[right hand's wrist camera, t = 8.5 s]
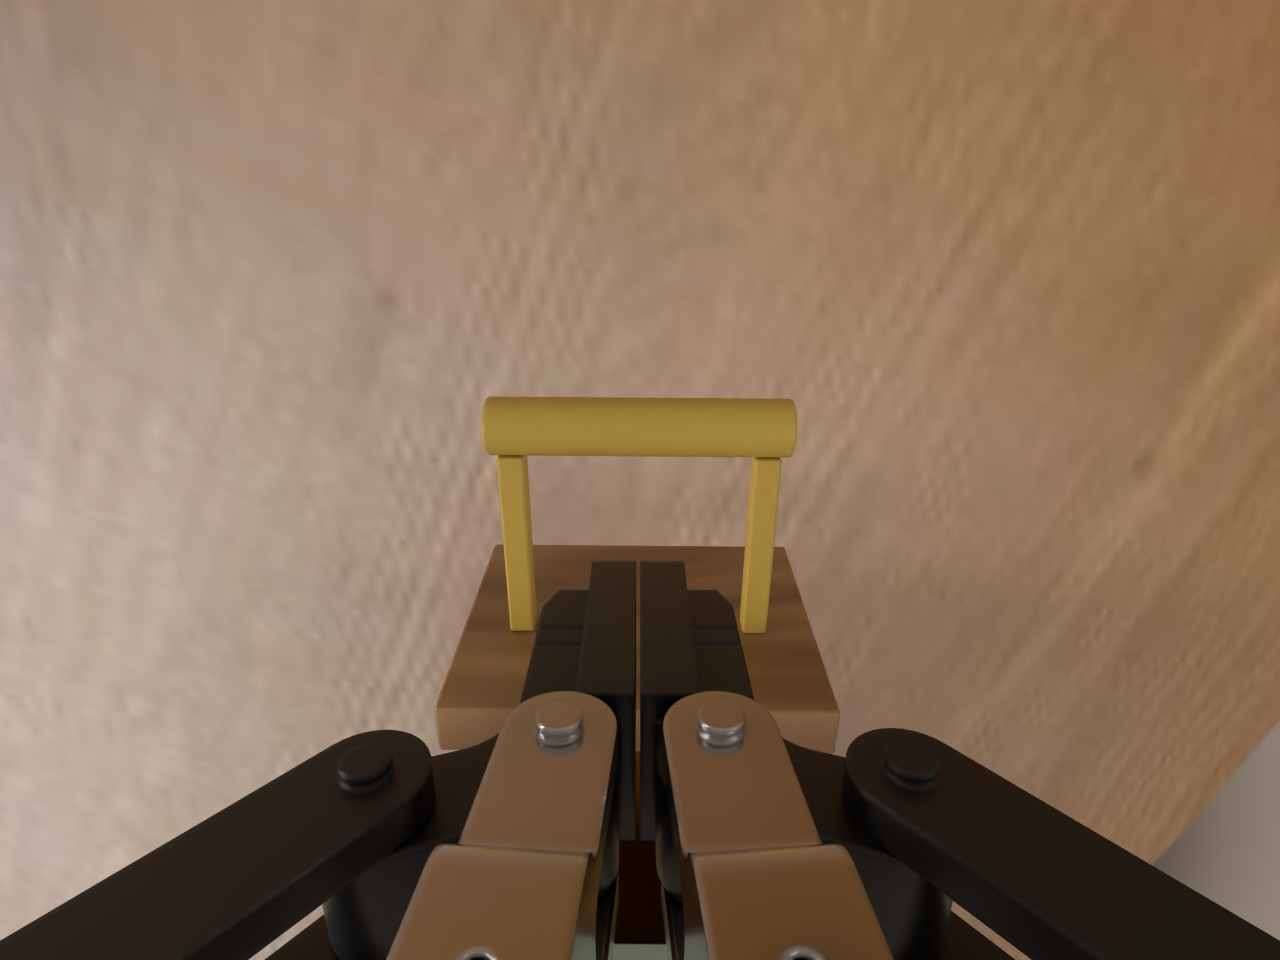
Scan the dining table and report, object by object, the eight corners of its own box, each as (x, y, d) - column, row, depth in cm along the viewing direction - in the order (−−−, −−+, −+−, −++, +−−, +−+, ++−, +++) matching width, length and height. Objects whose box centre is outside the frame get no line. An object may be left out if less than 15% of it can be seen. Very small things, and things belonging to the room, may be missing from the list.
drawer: (477, 348, 20) (395, 451, 13) (804, 351, 20) (880, 454, 13) (531, 959, 30) (500, 1180, 24) (743, 962, 30) (769, 1183, 24)
